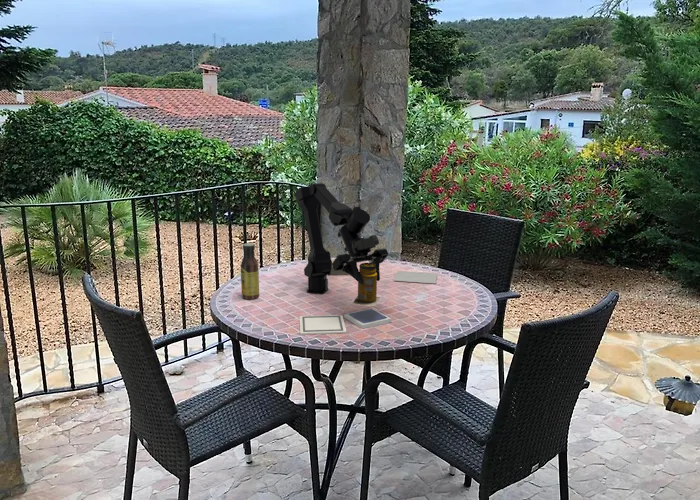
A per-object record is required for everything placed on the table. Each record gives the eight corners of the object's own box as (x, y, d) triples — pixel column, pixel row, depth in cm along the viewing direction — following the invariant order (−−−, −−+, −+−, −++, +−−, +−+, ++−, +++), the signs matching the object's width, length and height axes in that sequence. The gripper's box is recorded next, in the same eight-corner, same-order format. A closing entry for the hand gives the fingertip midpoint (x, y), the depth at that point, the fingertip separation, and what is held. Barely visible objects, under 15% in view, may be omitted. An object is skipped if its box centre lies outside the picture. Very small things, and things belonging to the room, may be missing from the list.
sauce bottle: (242, 294, 201) (240, 241, 196) (260, 294, 202) (258, 241, 197) (240, 300, 195) (238, 246, 190) (258, 300, 195) (256, 246, 190)
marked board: (299, 317, 179) (299, 315, 179) (342, 316, 181) (342, 314, 181) (300, 334, 166) (300, 332, 166) (346, 333, 167) (346, 331, 167)
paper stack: (434, 292, 207) (434, 290, 206) (368, 287, 211) (369, 286, 211) (437, 275, 229) (437, 273, 229) (378, 271, 233) (378, 269, 233)
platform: (315, 271, 232) (315, 256, 231) (358, 271, 233) (358, 256, 232) (315, 280, 221) (315, 264, 219) (360, 279, 222) (360, 264, 220)
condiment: (379, 297, 180) (380, 262, 176) (374, 306, 172) (375, 270, 168) (358, 295, 181) (358, 260, 178) (351, 304, 173) (352, 268, 170)
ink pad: (344, 317, 180) (344, 313, 179) (372, 311, 185) (372, 307, 185) (362, 328, 171) (362, 324, 170) (391, 322, 176) (391, 317, 176)
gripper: (337, 230, 169) (355, 273, 163) (386, 224, 179) (405, 265, 173) (324, 249, 178) (341, 291, 171) (372, 242, 187) (390, 282, 181)
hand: (370, 282), depth 174 cm, fingers closed on condiment, 6 cm apart
